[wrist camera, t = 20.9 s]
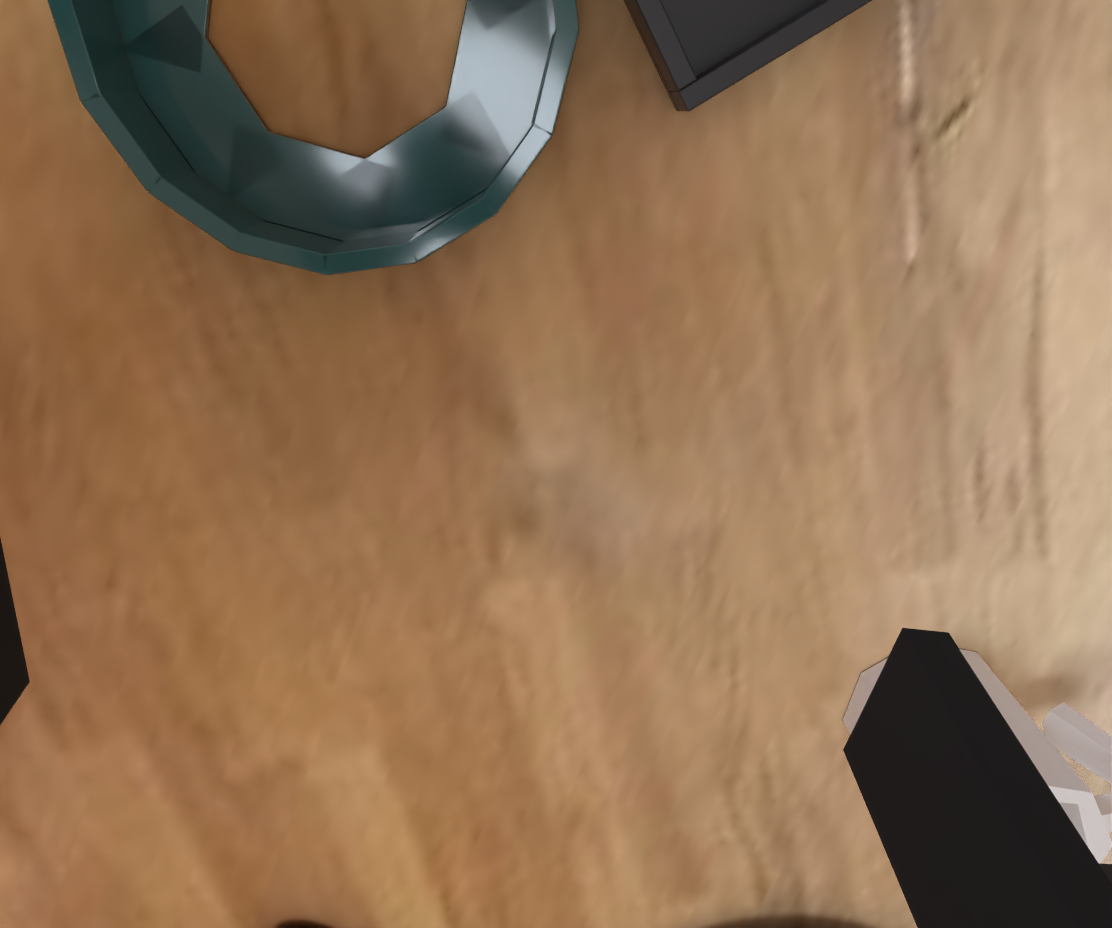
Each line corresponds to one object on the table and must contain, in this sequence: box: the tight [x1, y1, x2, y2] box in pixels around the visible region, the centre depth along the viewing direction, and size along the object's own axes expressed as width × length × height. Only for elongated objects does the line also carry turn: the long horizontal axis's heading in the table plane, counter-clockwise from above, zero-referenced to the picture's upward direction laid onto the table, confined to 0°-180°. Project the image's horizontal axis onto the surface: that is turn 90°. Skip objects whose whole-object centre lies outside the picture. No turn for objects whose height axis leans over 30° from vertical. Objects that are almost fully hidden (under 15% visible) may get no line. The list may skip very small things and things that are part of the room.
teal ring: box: [48, 0, 579, 275], centre depth 30 cm, size 18×18×4 cm
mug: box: [843, 649, 1112, 864], centre depth 41 cm, size 12×9×10 cm
